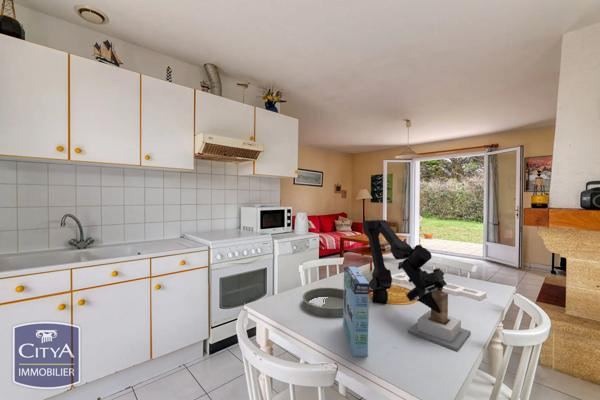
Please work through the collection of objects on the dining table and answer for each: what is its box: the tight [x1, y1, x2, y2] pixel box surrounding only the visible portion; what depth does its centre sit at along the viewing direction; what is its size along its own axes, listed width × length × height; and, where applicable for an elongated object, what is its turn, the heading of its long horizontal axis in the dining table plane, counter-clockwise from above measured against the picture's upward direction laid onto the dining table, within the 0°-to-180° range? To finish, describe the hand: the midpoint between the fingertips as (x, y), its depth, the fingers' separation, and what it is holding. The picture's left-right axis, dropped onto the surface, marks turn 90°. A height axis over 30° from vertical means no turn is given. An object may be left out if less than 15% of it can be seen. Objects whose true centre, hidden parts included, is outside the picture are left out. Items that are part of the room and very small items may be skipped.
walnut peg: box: [430, 290, 449, 325], centre depth 95 cm, size 4×4×13 cm
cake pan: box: [302, 287, 344, 317], centre depth 119 cm, size 25×25×4 cm
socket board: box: [407, 310, 472, 352], centre depth 95 cm, size 16×16×5 cm
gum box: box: [342, 266, 370, 358], centre depth 90 cm, size 20×5×23 cm, turn 0°
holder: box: [391, 271, 487, 302], centre depth 144 cm, size 45×18×3 cm, turn 36°
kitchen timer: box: [361, 259, 374, 292], centre depth 142 cm, size 14×14×15 cm
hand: (443, 311), depth 94 cm, fingers closed on walnut peg, 4 cm apart
